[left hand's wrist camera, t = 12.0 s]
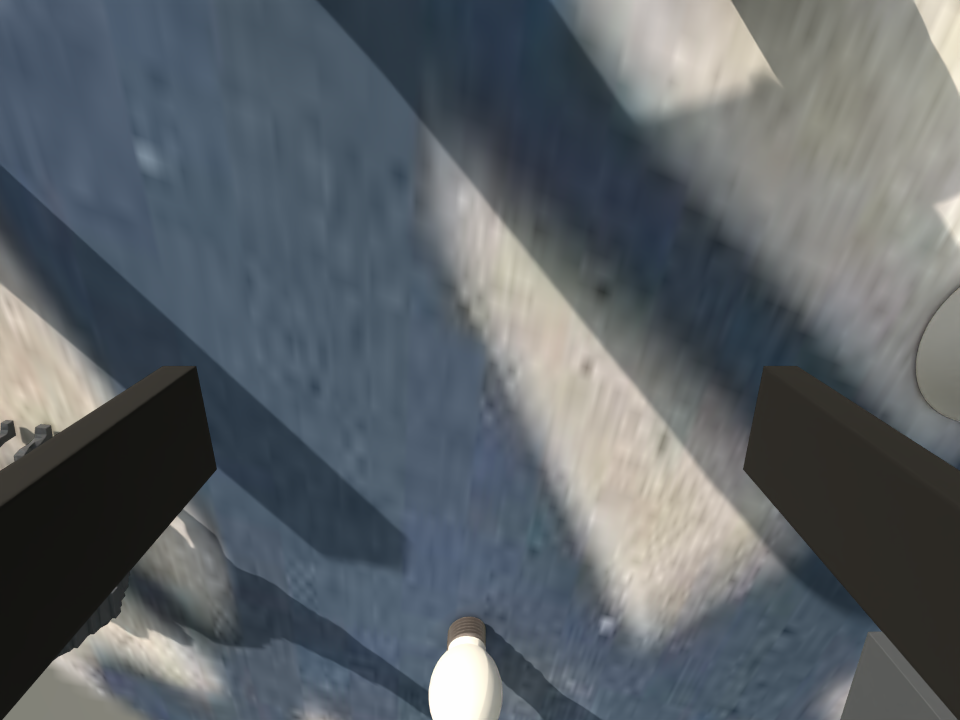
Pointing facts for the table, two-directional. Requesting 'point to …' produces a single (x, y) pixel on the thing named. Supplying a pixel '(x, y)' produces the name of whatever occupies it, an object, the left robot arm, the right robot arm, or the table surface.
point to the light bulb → (466, 676)
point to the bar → (890, 687)
